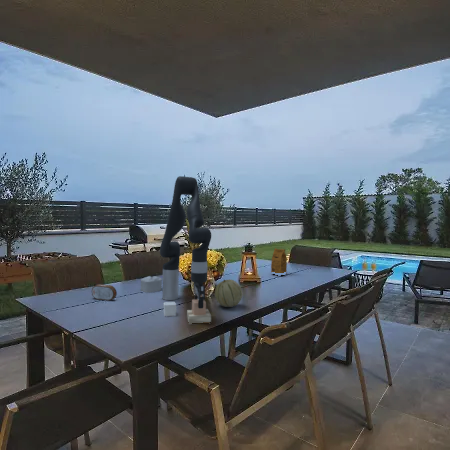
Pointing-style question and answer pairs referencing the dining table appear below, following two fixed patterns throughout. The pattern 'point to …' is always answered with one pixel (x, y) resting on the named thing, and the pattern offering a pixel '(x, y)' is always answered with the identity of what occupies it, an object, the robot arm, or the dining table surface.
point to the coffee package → (279, 261)
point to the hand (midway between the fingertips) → (198, 305)
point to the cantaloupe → (228, 293)
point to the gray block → (198, 317)
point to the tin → (104, 292)
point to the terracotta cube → (198, 310)
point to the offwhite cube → (169, 309)
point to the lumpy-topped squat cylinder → (151, 284)
